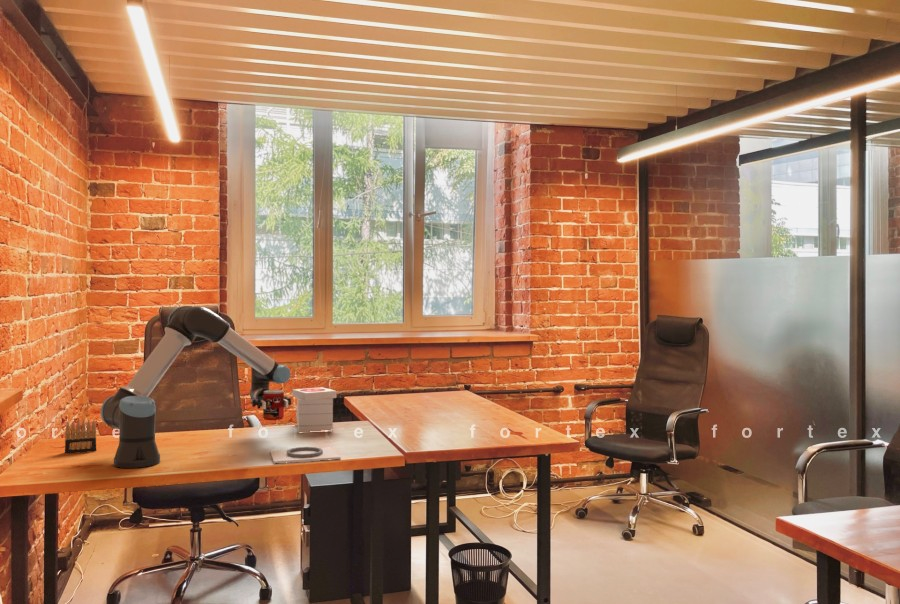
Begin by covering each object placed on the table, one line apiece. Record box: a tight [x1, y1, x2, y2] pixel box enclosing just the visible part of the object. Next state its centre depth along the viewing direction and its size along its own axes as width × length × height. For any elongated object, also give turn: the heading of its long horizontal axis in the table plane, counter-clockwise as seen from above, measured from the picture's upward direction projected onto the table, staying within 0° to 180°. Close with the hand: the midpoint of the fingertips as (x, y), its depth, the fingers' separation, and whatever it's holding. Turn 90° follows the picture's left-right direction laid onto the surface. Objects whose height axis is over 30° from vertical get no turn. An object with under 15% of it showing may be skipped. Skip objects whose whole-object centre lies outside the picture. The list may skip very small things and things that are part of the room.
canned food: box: [262, 389, 285, 421], centre depth 271 cm, size 8×8×11 cm
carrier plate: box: [269, 446, 342, 465], centre depth 258 cm, size 24×18×2 cm
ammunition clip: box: [64, 419, 97, 454], centre depth 262 cm, size 11×2×12 cm, turn 118°
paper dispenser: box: [292, 387, 338, 432], centre depth 317 cm, size 19×30×18 cm, turn 15°
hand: (276, 405), depth 267 cm, fingers closed on canned food, 8 cm apart
